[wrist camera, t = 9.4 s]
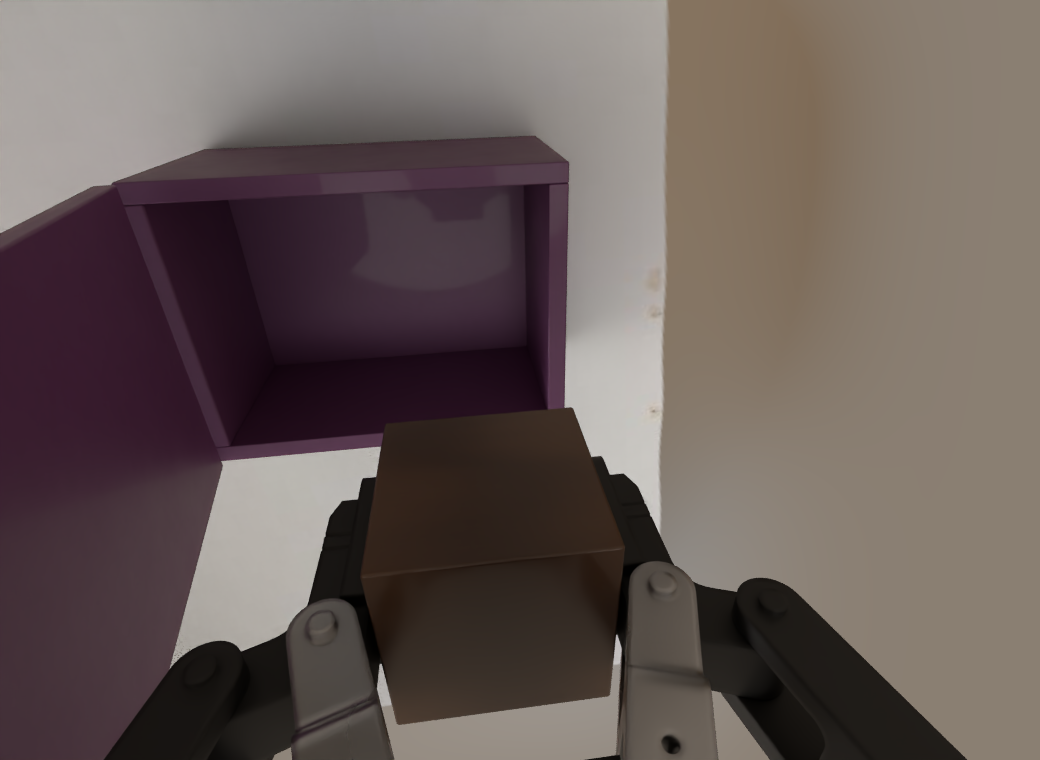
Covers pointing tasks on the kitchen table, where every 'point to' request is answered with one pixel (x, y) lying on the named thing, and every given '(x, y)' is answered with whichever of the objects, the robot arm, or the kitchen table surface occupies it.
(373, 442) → the box
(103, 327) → the file lid
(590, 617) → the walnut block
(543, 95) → the kitchen table surface
